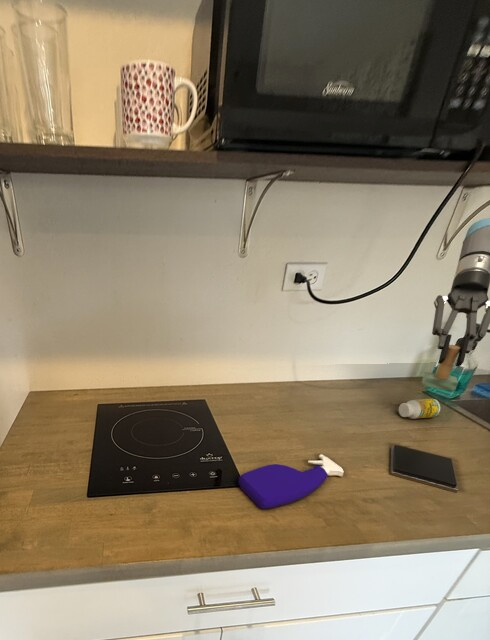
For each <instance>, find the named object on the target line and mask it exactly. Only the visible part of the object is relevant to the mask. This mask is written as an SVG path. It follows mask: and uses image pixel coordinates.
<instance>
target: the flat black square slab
mask: <svg viewBox="0 0 490 640" xmlns="http://www.w3.org/2000/svg"><path fill="white" fill-rule="evenodd" d="M389 455H390V456H389V457H390V459H389V460H390V461H389V462H390V463H389V464H390V465H389V475H390V476H392V477H393V476H394V477H396V478H400V479H404V480H407V481H411V482H416V483H419V484H422V485H427V486H430V487H433V488H437V489H441V490H443V491H449V492H451V493H455V494H456V493H458V491H459V486H458V481H457V477H456V472H455V468H454V463H453V459H452V458H451V457H446V456H443V455H439V454H435V453H431V452H426V451H422V450H418V449H414V448H410V447H406V446H403V445H402V446H401V445H398V444H394V445H391V447H390V454H389Z"/></svg>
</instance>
